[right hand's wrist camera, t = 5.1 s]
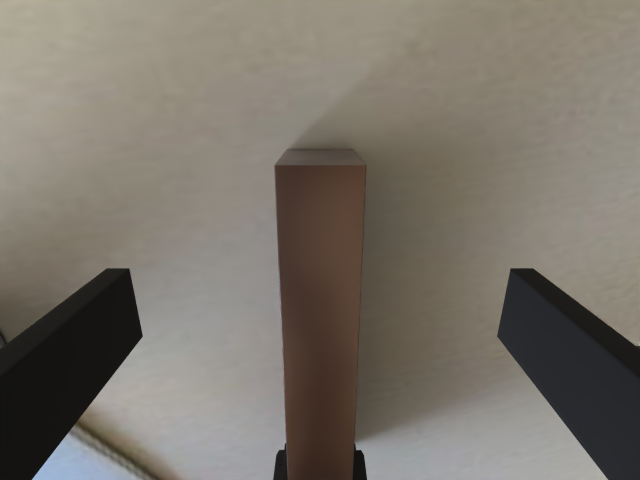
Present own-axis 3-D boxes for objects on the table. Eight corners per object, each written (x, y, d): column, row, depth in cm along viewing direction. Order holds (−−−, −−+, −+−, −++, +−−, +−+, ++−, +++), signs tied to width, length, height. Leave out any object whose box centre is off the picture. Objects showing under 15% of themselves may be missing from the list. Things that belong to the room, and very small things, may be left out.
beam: (353, 149, 27) (366, 165, 20) (344, 446, 38) (350, 531, 30) (286, 149, 27) (274, 165, 20) (295, 446, 37) (289, 531, 30)
